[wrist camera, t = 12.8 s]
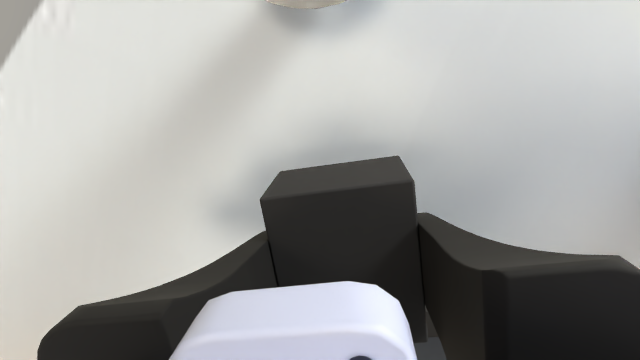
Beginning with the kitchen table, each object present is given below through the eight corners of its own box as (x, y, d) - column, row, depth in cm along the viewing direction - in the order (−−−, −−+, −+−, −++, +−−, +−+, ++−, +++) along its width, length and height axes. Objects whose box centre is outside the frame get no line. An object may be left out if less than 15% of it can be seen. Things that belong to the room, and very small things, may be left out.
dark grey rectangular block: (399, 154, 13) (414, 179, 10) (412, 286, 14) (429, 343, 11) (279, 170, 13) (258, 199, 10) (303, 296, 15) (291, 352, 12)
